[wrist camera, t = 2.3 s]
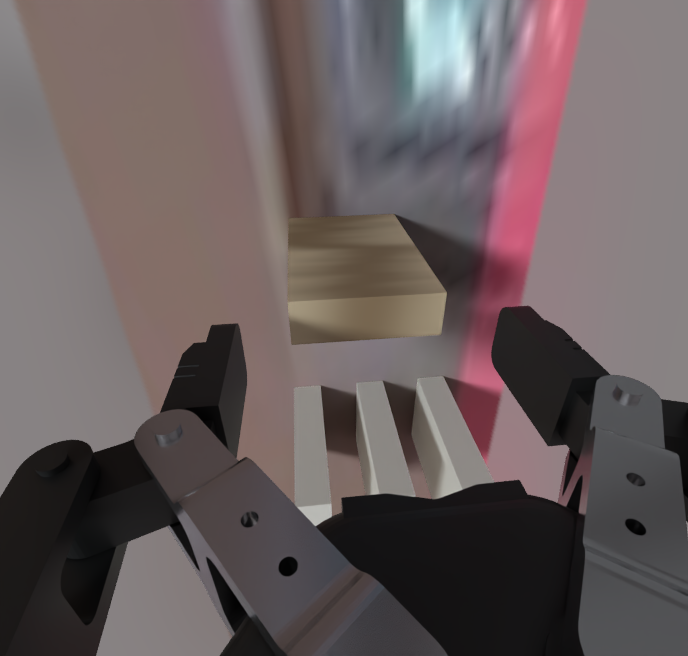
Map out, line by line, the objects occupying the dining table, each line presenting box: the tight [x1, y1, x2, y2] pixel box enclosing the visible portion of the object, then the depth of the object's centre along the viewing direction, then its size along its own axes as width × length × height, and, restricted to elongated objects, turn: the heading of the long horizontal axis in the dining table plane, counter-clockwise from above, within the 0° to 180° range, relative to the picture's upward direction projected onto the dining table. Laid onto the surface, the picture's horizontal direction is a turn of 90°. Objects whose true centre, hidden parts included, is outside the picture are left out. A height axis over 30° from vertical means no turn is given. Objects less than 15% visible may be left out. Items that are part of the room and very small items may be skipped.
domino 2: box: [288, 214, 447, 345], centre depth 17 cm, size 5×2×8 cm, turn 90°
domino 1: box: [294, 385, 332, 526], centre depth 23 cm, size 5×2×8 cm, turn 0°
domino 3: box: [356, 381, 415, 497], centre depth 23 cm, size 5×2×8 cm, turn 0°
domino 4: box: [411, 376, 494, 499], centre depth 24 cm, size 5×2×8 cm, turn 0°
